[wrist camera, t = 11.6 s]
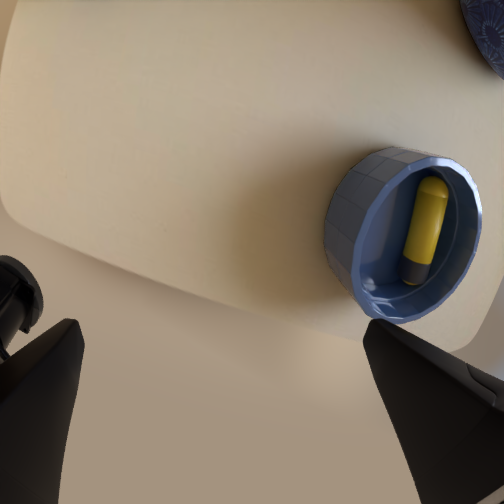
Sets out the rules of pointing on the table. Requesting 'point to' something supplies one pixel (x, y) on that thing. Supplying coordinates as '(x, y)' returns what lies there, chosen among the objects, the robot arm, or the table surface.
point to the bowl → (399, 232)
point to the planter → (487, 29)
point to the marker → (423, 231)
